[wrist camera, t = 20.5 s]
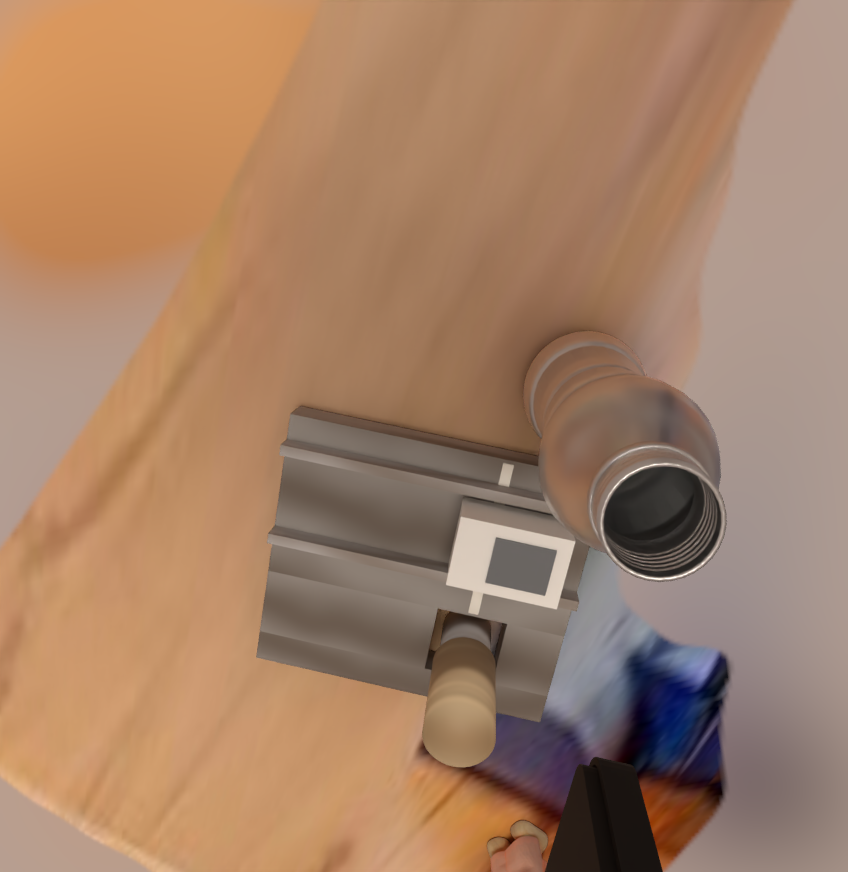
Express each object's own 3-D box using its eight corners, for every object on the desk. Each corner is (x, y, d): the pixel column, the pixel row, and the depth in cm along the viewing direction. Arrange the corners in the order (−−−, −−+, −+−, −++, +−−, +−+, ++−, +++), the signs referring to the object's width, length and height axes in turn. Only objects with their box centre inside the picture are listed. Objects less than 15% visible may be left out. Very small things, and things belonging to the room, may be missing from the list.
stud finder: (463, 496, 39) (460, 517, 36) (569, 519, 38) (575, 542, 35) (449, 560, 40) (445, 586, 37) (552, 583, 39) (557, 611, 36)
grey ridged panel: (300, 405, 41) (284, 418, 38) (602, 469, 40) (611, 488, 37) (266, 639, 45) (249, 668, 42) (537, 701, 44) (541, 735, 41)
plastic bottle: (628, 313, 37) (768, 383, 18) (646, 431, 39) (793, 610, 20) (510, 339, 38) (525, 430, 19) (533, 453, 40) (568, 643, 21)
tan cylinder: (444, 596, 43) (429, 697, 33) (501, 609, 43) (502, 713, 33) (433, 646, 44) (416, 757, 34) (489, 659, 44) (486, 774, 34)
